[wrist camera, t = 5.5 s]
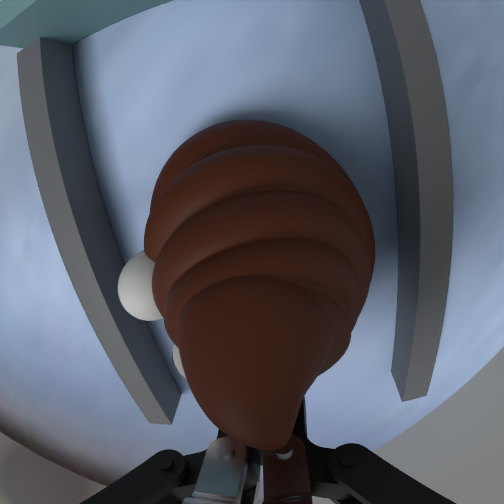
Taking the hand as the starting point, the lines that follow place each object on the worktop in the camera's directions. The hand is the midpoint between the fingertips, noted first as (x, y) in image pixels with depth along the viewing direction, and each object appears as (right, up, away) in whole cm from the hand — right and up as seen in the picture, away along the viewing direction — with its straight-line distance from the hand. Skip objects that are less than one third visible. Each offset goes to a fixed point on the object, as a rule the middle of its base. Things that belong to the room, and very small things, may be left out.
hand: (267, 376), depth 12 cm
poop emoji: (0, +6, +2) cm, 6 cm away
